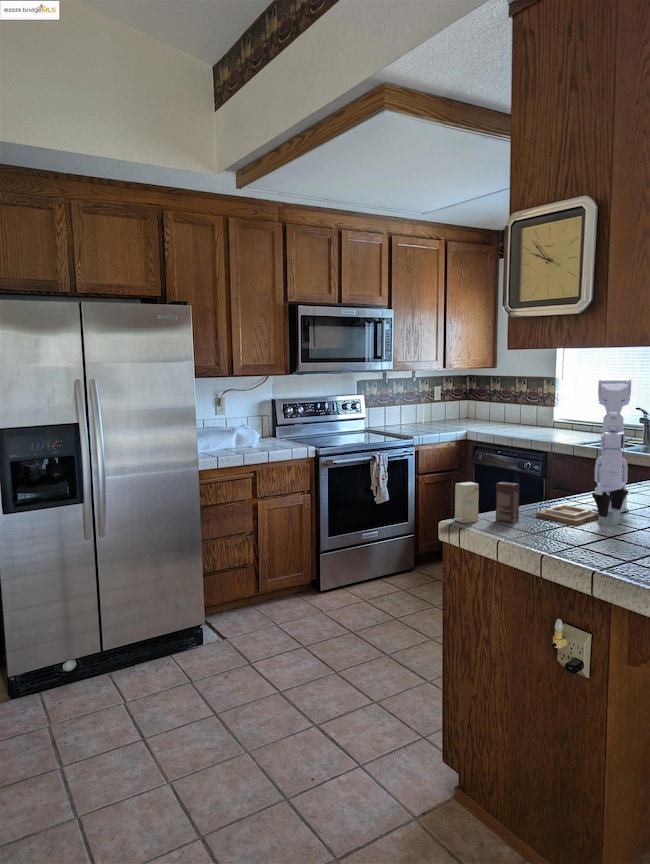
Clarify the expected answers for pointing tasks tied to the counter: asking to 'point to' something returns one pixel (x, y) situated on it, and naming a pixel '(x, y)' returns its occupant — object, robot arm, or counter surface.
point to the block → (611, 517)
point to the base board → (568, 514)
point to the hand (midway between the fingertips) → (609, 514)
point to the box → (507, 502)
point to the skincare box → (466, 502)
